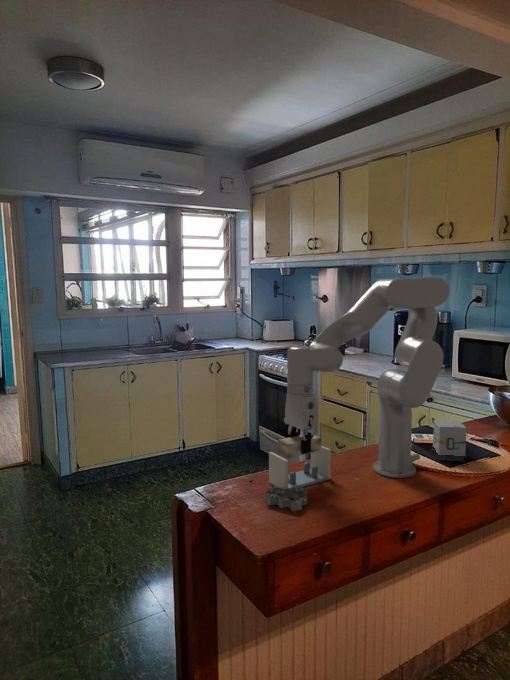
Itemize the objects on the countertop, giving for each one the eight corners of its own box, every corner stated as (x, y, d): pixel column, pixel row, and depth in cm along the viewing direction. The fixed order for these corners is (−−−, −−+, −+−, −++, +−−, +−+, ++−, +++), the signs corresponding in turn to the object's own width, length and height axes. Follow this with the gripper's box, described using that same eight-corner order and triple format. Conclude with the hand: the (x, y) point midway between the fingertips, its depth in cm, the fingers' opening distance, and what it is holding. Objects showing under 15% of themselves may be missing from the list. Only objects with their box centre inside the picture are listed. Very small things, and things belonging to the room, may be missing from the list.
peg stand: (313, 470, 146) (313, 442, 145) (330, 478, 140) (330, 449, 139) (269, 482, 138) (268, 452, 137) (285, 492, 131) (285, 461, 130)
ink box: (432, 452, 161) (433, 419, 160) (458, 453, 160) (459, 419, 159) (438, 461, 153) (439, 426, 152) (465, 462, 152) (467, 427, 150)
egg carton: (310, 503, 125) (310, 488, 124) (297, 514, 119) (297, 499, 118) (275, 493, 131) (275, 479, 130) (261, 503, 124) (261, 489, 124)
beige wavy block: (310, 445, 143) (310, 432, 142) (321, 450, 139) (321, 437, 138) (277, 453, 137) (277, 439, 136) (288, 458, 132) (288, 444, 132)
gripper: (329, 392, 130) (329, 456, 132) (292, 382, 145) (292, 439, 147) (308, 396, 126) (308, 461, 128) (272, 385, 141) (272, 444, 143)
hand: (299, 449), depth 138 cm, fingers closed on beige wavy block, 5 cm apart
